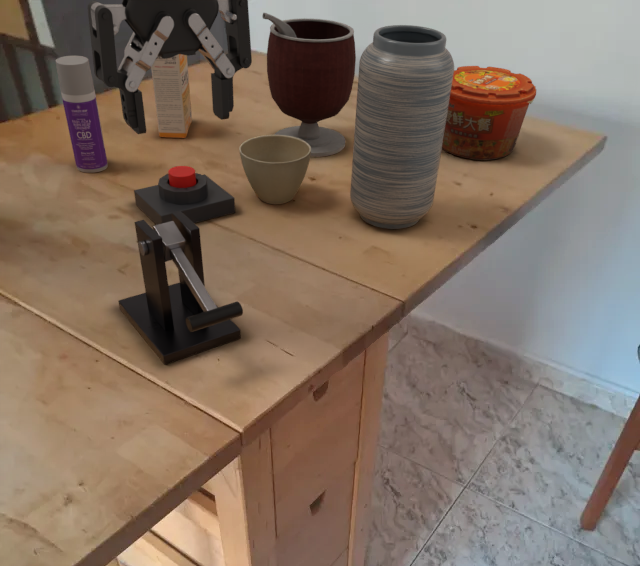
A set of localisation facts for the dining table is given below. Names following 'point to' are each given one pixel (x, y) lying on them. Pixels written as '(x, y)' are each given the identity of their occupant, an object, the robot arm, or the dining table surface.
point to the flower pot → (275, 166)
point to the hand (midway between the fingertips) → (180, 123)
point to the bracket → (171, 298)
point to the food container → (486, 112)
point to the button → (182, 177)
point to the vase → (400, 124)
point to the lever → (194, 281)
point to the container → (82, 113)
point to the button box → (184, 200)
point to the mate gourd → (311, 76)
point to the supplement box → (172, 96)
